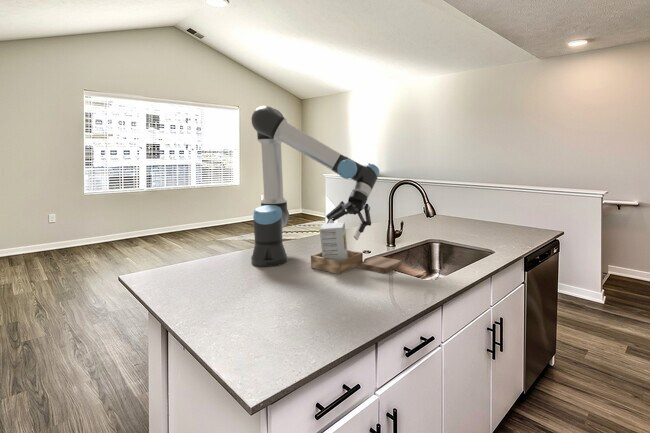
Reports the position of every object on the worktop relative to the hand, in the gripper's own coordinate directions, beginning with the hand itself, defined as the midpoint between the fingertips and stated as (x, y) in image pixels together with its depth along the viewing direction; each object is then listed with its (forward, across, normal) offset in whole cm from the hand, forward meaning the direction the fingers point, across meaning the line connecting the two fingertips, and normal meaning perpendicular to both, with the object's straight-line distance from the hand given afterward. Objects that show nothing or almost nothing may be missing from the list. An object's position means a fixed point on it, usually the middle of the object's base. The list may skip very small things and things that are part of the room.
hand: (339, 236), depth 154 cm
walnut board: (+3, -14, -14) cm, 20 cm away
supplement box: (+10, +1, -7) cm, 12 cm away
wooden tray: (+10, 0, -7) cm, 12 cm away
